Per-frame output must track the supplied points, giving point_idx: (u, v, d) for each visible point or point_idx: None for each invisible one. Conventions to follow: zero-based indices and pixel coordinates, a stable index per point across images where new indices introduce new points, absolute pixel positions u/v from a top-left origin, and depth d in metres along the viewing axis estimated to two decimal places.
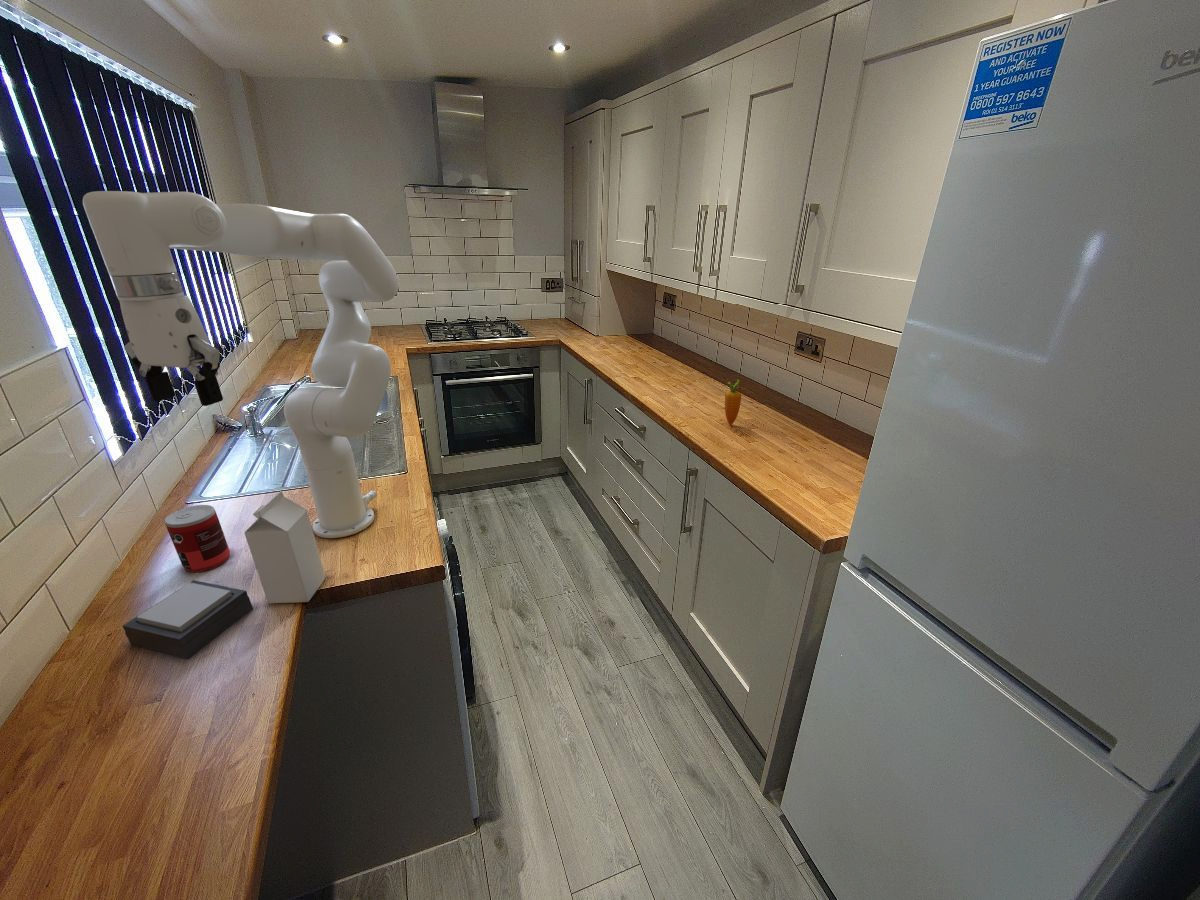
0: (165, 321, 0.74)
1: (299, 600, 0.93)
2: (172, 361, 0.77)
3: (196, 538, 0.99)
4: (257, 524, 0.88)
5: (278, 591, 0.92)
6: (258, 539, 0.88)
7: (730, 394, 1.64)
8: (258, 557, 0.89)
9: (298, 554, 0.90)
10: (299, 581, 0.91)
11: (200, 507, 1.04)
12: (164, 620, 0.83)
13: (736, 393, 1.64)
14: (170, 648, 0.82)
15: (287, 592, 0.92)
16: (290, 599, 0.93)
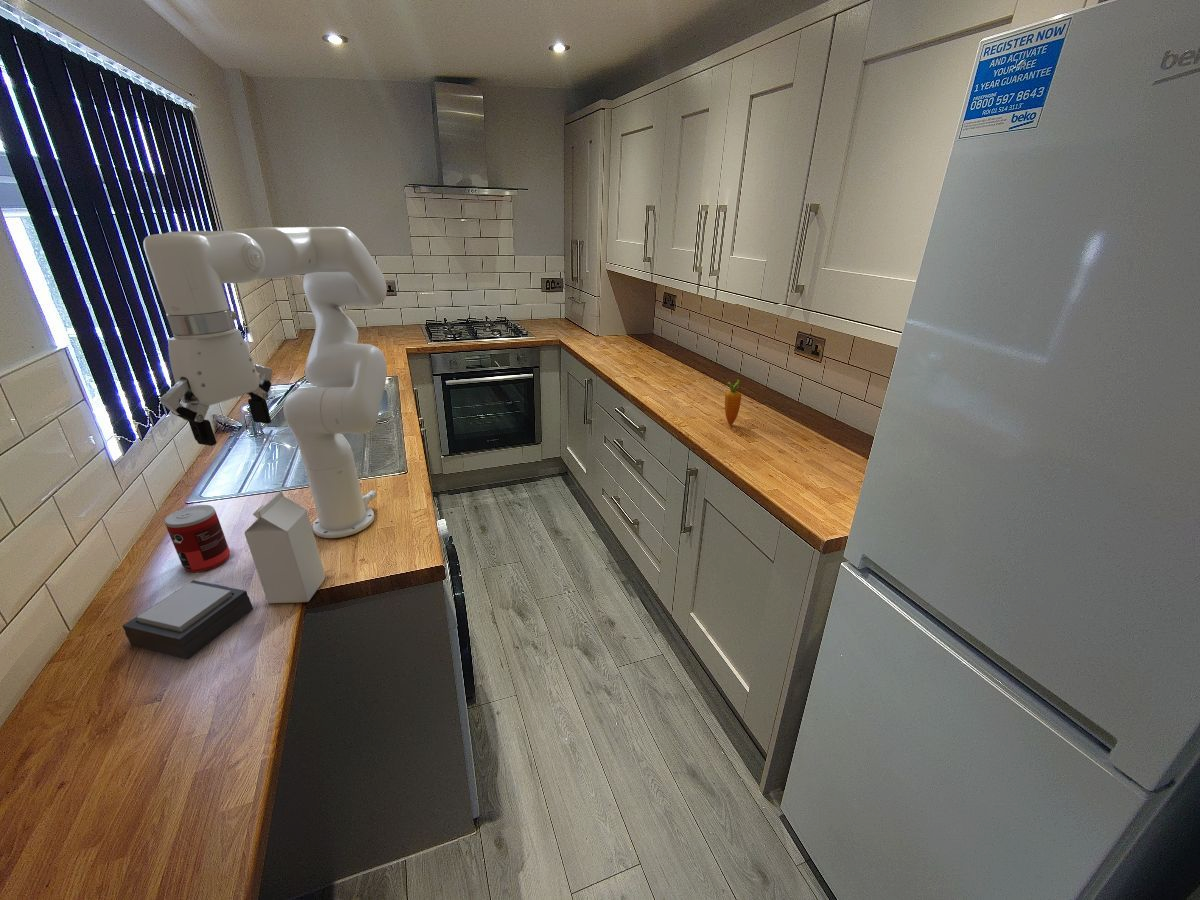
0: (245, 348, 0.81)
1: (299, 600, 0.93)
2: (248, 387, 0.82)
3: (196, 538, 0.99)
4: (257, 524, 0.89)
5: (278, 591, 0.92)
6: (258, 539, 0.88)
7: (730, 394, 1.64)
8: (258, 557, 0.89)
9: (298, 554, 0.90)
10: (299, 581, 0.91)
11: (200, 507, 1.04)
12: (164, 620, 0.83)
13: (736, 393, 1.64)
14: (170, 648, 0.82)
15: (287, 592, 0.92)
16: (290, 599, 0.93)
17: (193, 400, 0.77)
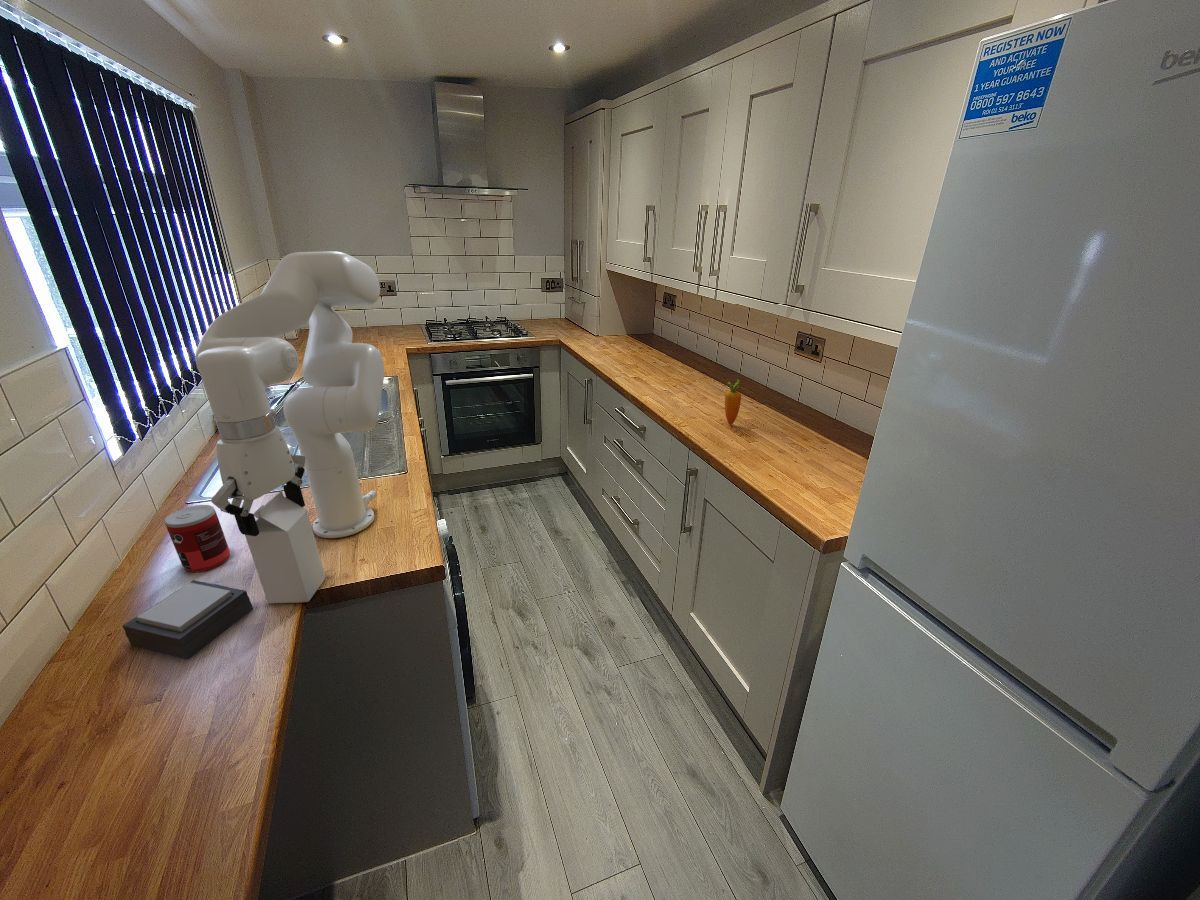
0: (284, 443, 0.88)
1: (299, 600, 0.93)
2: (286, 478, 0.89)
3: (196, 538, 0.99)
4: (257, 524, 0.88)
5: (278, 591, 0.92)
6: (258, 539, 0.88)
7: (730, 394, 1.64)
8: (258, 557, 0.89)
9: (298, 554, 0.90)
10: (299, 581, 0.91)
11: (200, 507, 1.04)
12: (164, 620, 0.83)
13: (736, 393, 1.64)
14: (170, 648, 0.82)
15: (287, 592, 0.92)
16: (290, 600, 0.93)
17: (238, 496, 0.83)
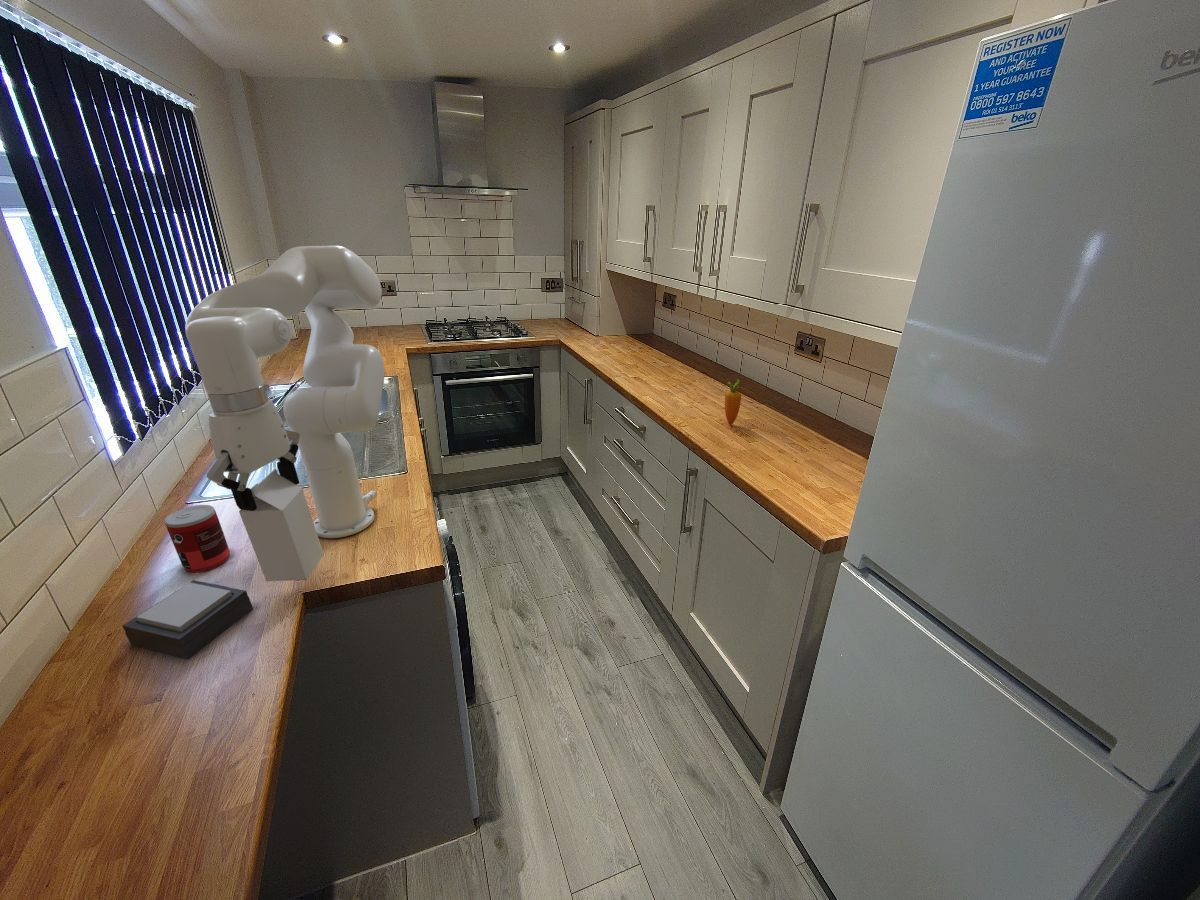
0: (278, 416, 0.86)
1: (297, 578, 0.93)
2: (280, 452, 0.87)
3: (196, 538, 0.99)
4: None
5: (276, 569, 0.92)
6: (253, 518, 0.87)
7: (730, 394, 1.64)
8: (254, 536, 0.88)
9: (294, 533, 0.90)
10: (297, 559, 0.91)
11: (200, 507, 1.04)
12: (164, 620, 0.83)
13: (736, 393, 1.64)
14: (170, 648, 0.82)
15: (285, 570, 0.92)
16: (288, 577, 0.92)
17: (234, 470, 0.82)
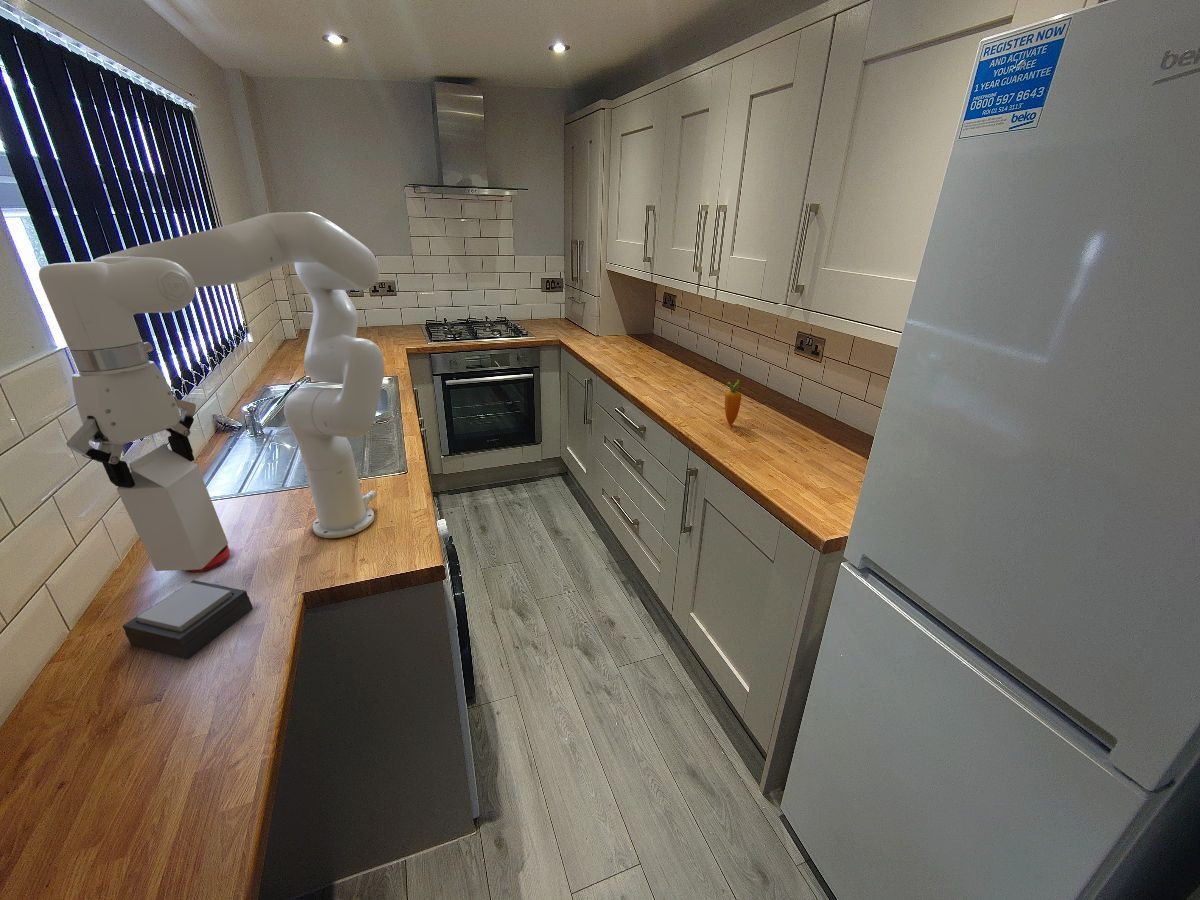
0: (163, 382, 0.76)
1: (191, 567, 0.82)
2: (167, 422, 0.77)
3: None
4: None
5: (166, 557, 0.81)
6: (134, 497, 0.76)
7: (730, 394, 1.64)
8: (137, 518, 0.78)
9: (185, 515, 0.79)
10: (188, 546, 0.80)
11: None
12: (164, 620, 0.83)
13: (736, 393, 1.64)
14: (170, 648, 0.82)
15: (176, 558, 0.81)
16: (180, 566, 0.82)
17: (105, 440, 0.72)
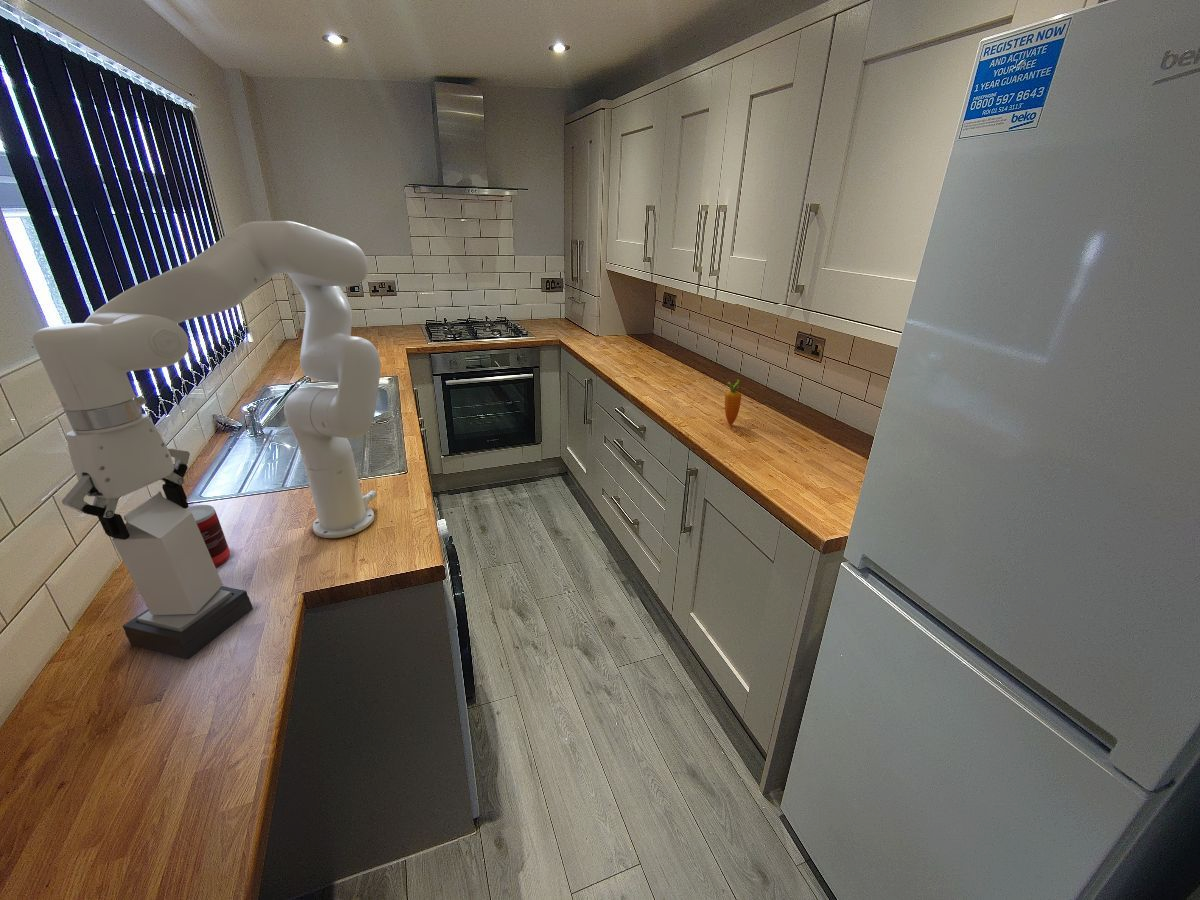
0: (157, 434, 0.78)
1: (185, 612, 0.84)
2: (161, 473, 0.79)
3: None
4: (129, 530, 0.79)
5: (161, 602, 0.83)
6: (129, 547, 0.78)
7: (730, 394, 1.64)
8: (132, 566, 0.79)
9: (179, 562, 0.81)
10: (183, 592, 0.82)
11: (200, 507, 1.04)
12: (165, 621, 0.83)
13: (736, 393, 1.64)
14: (170, 648, 0.82)
15: (171, 603, 0.83)
16: (175, 611, 0.84)
17: (100, 495, 0.74)
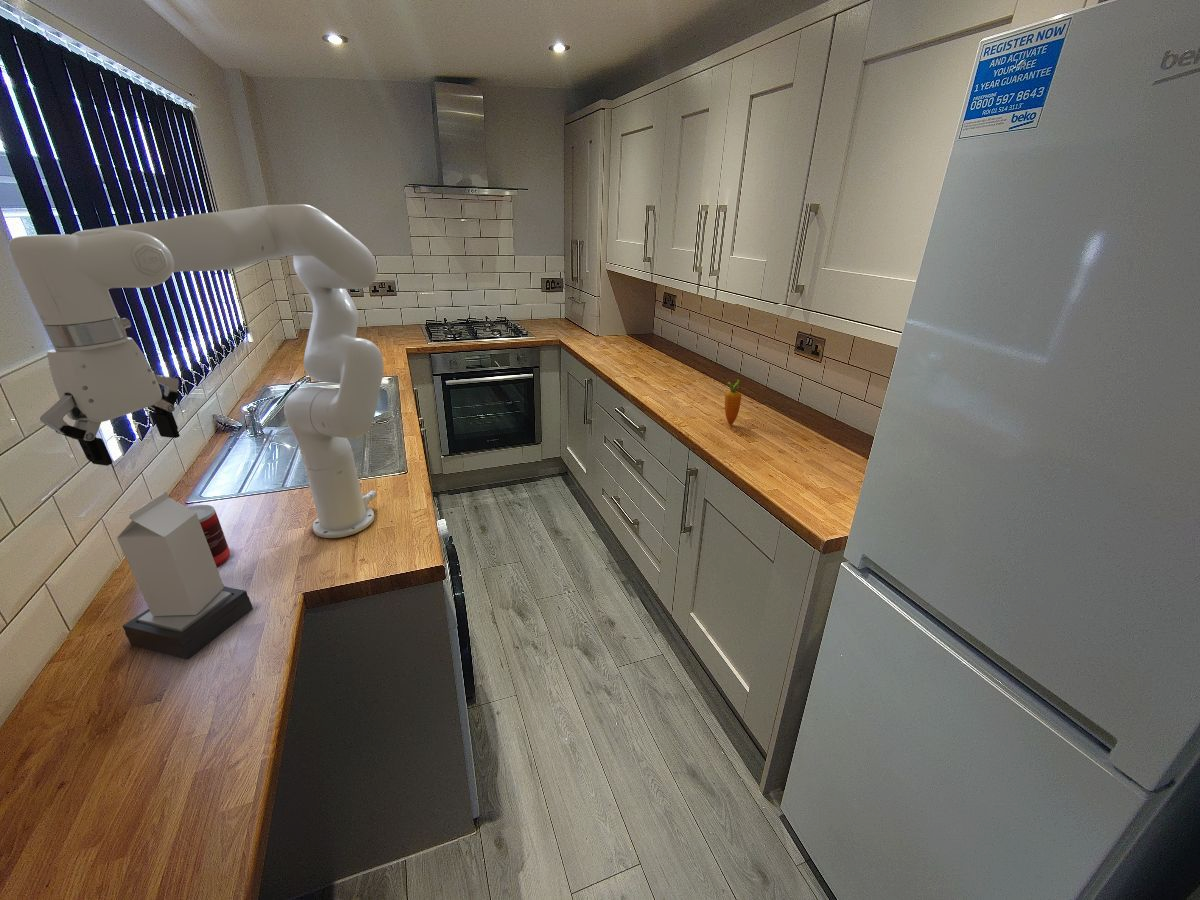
0: (142, 359, 0.75)
1: (186, 613, 0.84)
2: (148, 400, 0.76)
3: None
4: (133, 528, 0.79)
5: (162, 603, 0.83)
6: (133, 545, 0.79)
7: (730, 394, 1.64)
8: (135, 565, 0.80)
9: (182, 562, 0.81)
10: (184, 592, 0.82)
11: (200, 507, 1.04)
12: (165, 622, 0.83)
13: (736, 393, 1.64)
14: (170, 648, 0.82)
15: (172, 604, 0.83)
16: (176, 612, 0.84)
17: (82, 417, 0.71)
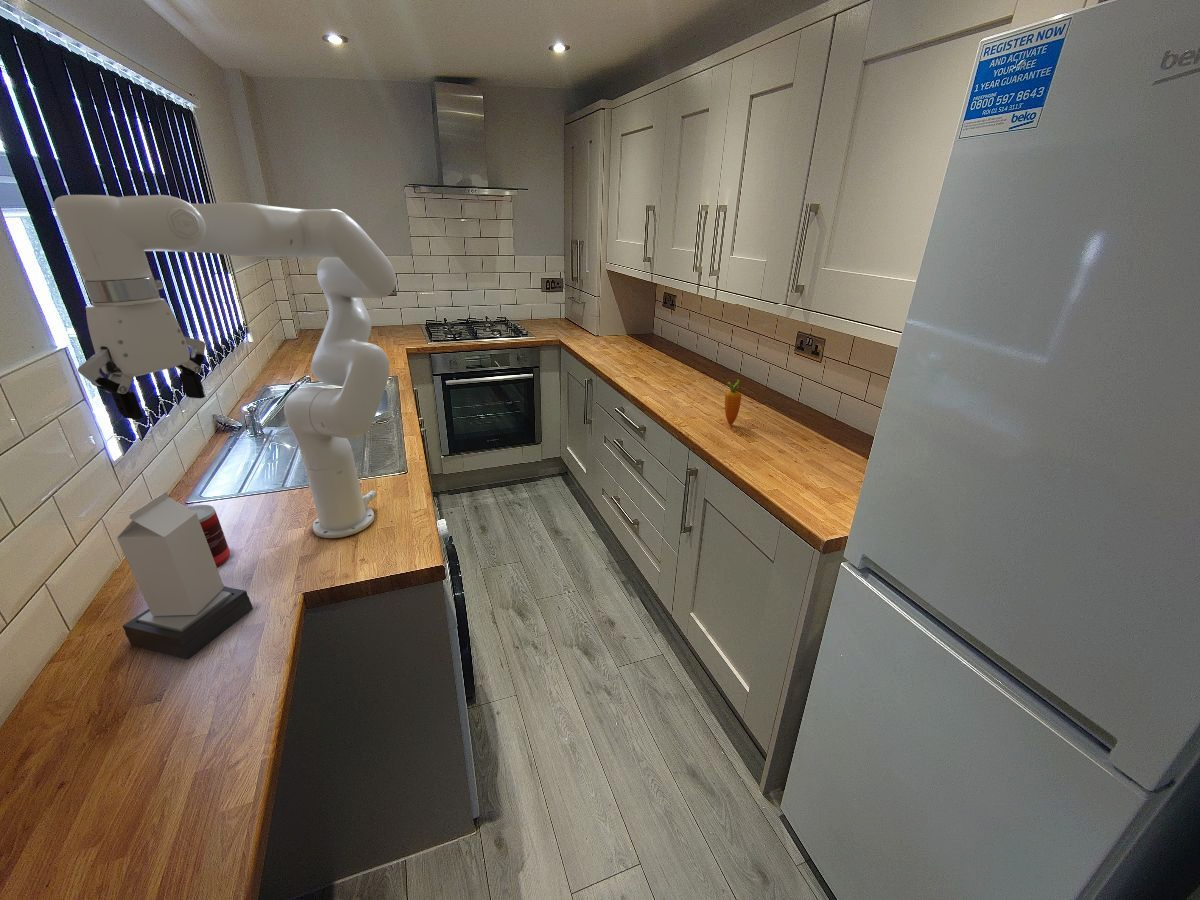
0: (173, 319, 0.78)
1: (186, 613, 0.84)
2: (177, 359, 0.80)
3: None
4: (133, 528, 0.79)
5: (162, 603, 0.83)
6: (133, 545, 0.79)
7: (730, 394, 1.64)
8: (135, 565, 0.80)
9: (182, 562, 0.81)
10: (184, 592, 0.82)
11: (200, 507, 1.04)
12: (165, 622, 0.83)
13: (736, 393, 1.64)
14: (170, 648, 0.82)
15: (172, 604, 0.83)
16: (176, 612, 0.84)
17: (116, 371, 0.74)
